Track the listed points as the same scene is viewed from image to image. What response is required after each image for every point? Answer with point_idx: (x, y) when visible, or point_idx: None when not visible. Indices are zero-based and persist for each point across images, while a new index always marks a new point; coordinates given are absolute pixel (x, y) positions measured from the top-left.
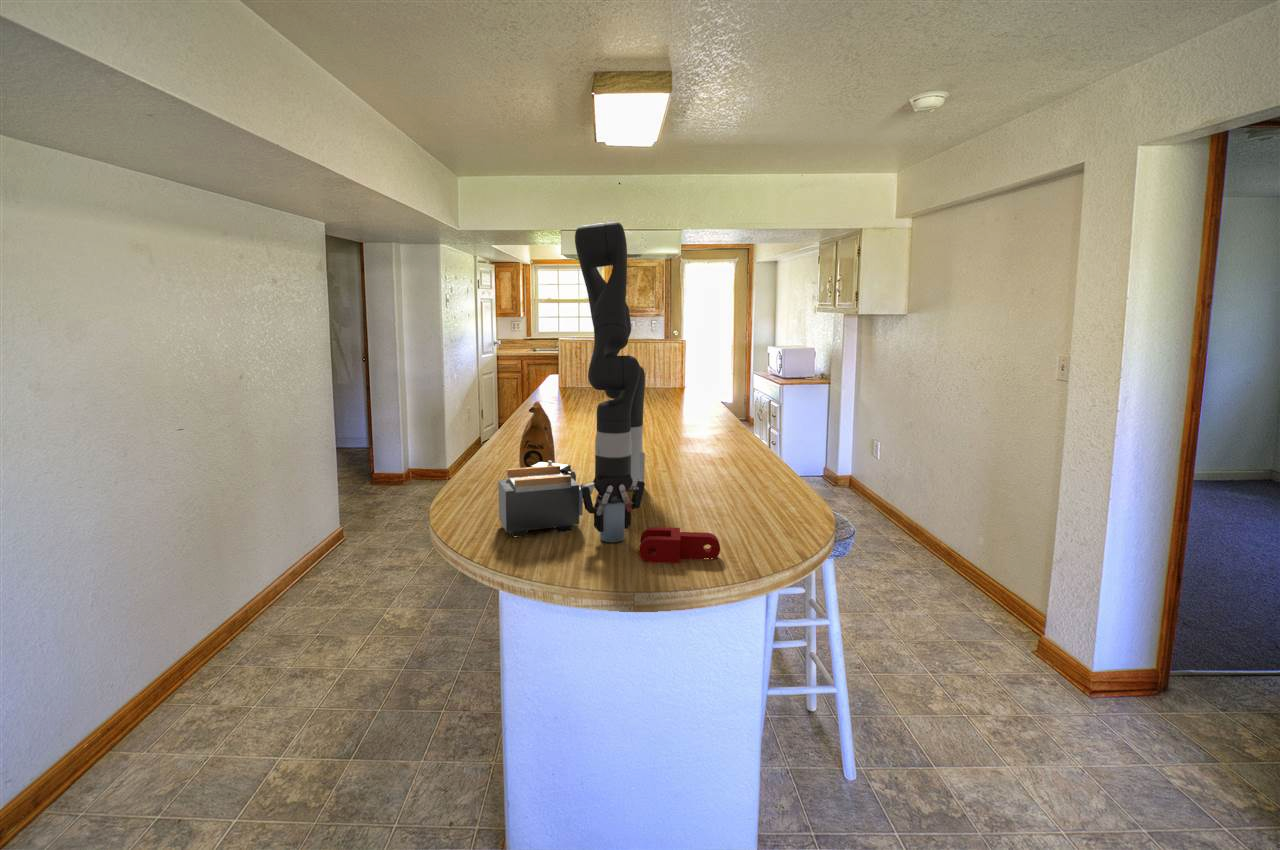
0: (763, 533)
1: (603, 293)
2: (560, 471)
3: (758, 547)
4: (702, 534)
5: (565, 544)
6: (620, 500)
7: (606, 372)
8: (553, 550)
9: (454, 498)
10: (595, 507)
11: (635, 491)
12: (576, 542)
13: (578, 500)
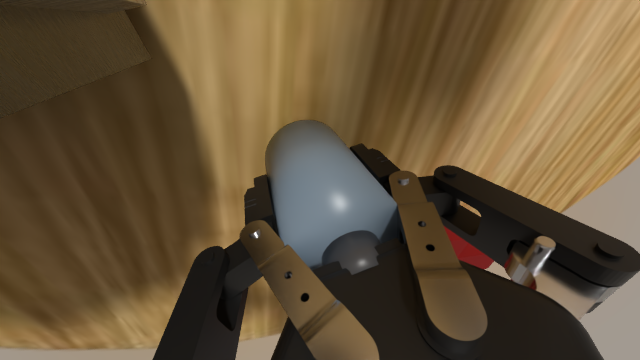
0: (623, 112)
1: None
2: None
3: (551, 182)
4: (484, 262)
5: (145, 197)
6: (393, 230)
7: None
8: (120, 239)
9: None
10: (254, 266)
11: (502, 239)
12: (182, 179)
13: (68, 89)
